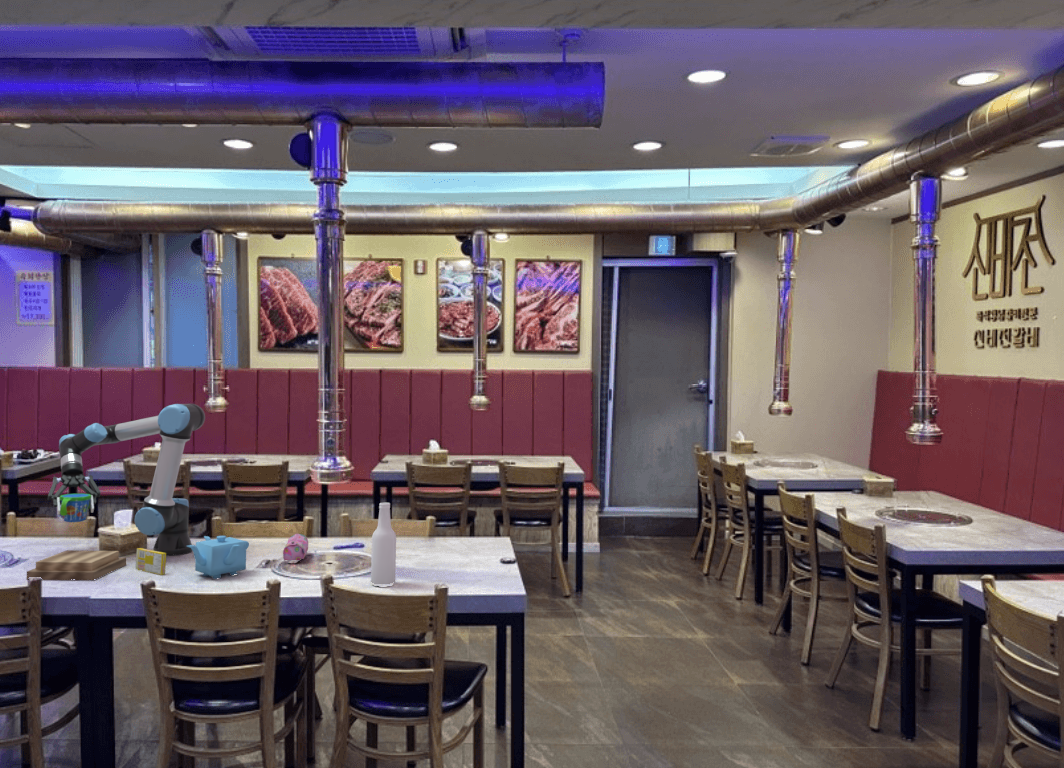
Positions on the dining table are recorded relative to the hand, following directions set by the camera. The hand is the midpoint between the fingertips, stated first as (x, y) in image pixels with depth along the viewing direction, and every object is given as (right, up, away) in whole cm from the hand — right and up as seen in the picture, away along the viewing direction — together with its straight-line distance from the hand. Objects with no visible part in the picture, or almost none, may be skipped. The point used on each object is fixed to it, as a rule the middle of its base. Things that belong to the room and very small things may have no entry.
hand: (75, 511), depth 301 cm
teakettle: (+59, -23, -8) cm, 64 cm away
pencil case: (+79, -24, +21) cm, 85 cm away
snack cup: (-2, -4, +2) cm, 5 cm away
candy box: (+32, -22, -5) cm, 39 cm away
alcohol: (+123, -24, -17) cm, 127 cm away
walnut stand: (+6, -22, -8) cm, 24 cm away
